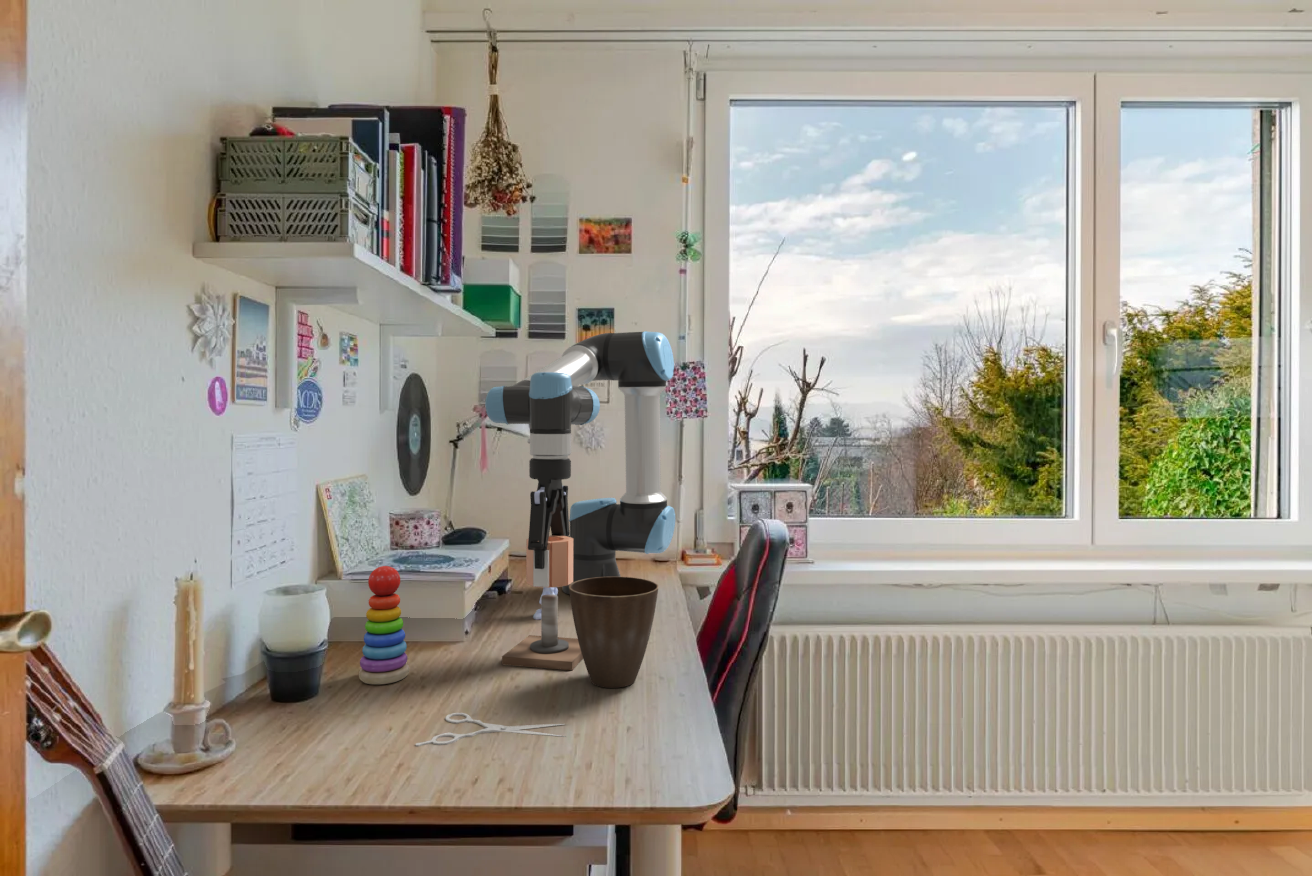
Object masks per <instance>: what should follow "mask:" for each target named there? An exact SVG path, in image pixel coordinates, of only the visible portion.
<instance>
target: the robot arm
mask: <svg viewBox="0 0 1312 876" xmlns="http://www.w3.org/2000/svg"><path fill="white" fill-rule="evenodd" d="M674 370H675V359H674V354H673V350H672V347H671V344H670V342H669V339H668V337H666V336H665V334H664V333H662V332H658V331H647V330H646V331H632V332H606V333H599V334H597V335H593V336H590V337H588V338H586V339H584V340H581V341H579V342H576V343H574V344H573V345H571V346H569V347H568V348H567V349H565V351H564V352H563V353H562V355H561V357H560V358H558V359H556V360H554V361H552V362H551V363H549V364H548V365H545V366H544V367H542V368H541V369H539V370H537V371H535V372H533V373H532V374H530V375H529V376H527V377H525V378H524V379H522V380H521V381H519V382H517V383H515V384H513V385H509V386H506V385H501V386H494V387H492V388H490V389H489V391H488V392H487V394H486V398H485V405H484V406H485V411H486V415H487V416H488V418H489V420H490V421H491V422H493V423H494V424H495V423H496V424H505V425H507V426H508V425H529V438H527V443H528V444H529V455H530V456H532V458H530V459H529V461H528V462H529V463H528V464H529V465H528V467H529V469H528V470H529V475H528V476H529V478H530V479H532V480H537V487H536V488H537V489H536V490H535V491H530V510H529V511H530V512H529V513H530V514H529V515H530V516H529V528H528V529H529V530H528V538H529V540H528V550H533V586H532V587H534V586H536V587H537V588H544V587H549V550H547V545H548V539H549V536H550V533H551V535H553V536H567V537H571V538H573V582H576V581H578V580H582V579H587V578H595V577H622V576H621V573H620V569H619V567H618V563H617V559H616V556H617V555H616V553H617V552H627V553H628V552H629V553H641V554H646V555H649V554H662V553H664V552H665V551H666V550H667V549H668V548H669V546H670V545H671V542H672V539H673V537H674V532H675V528H676V512H675V508H674V507H672V506H671V505H668V497H667V496H665V494H664V493H663V492H662V488H661V484H662V483H661V479H662V478H661V477H662V476H661V405H660V404H661V399H660V398H661V397H660V396H661V394H662V392H663V391H664V390H665V389H666V387H667V381H669V380H671V379H672V378H673V377H674ZM594 381H595V382H596V381H617V385H618V386H617V387H618V390H620V392H622V394H623V395H624V436H625V437H624V438H625V439H624V440H625V443H624V444H625V447H624V449H625V451H624V452H625V453H624V454H625V493H624V494H623V495H622V496H621V497H620V498H619V503H618V504H617V500H616V497H601V498H594V499H593V498H592V499H586V500H585V499H584V500H580V501H576V502H574V503H572V504H571V506H570V509H569V502H568V501H569V500H568V499H569V498H568V496H569V486H568V485H563V481H562V480H567V479H570V478H571V476H572V461H571V459H570V458H569V456H571V455H572V425H575V426H578V425H579V426H583V425H586V424H590V423H591V422H593V421H594V420H595V419H596V418H597V416H598V415H599V413H600V408H601V404H600V399H599V396H598V394H596V392H595V391H594V390H592V389H590V388H588V387H585V386H583V385H587V384H590V383H591V382H594ZM569 510H570V511H569ZM538 541H539V542H538ZM616 551H617V552H616ZM573 582H572V583H573ZM569 585H570V584H569ZM569 585H567V586H562V592H563V593H564V594H567V595H570V592H569ZM536 587H535V588H536Z"/></svg>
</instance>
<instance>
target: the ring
mask: <svg viewBox="0 0 1312 876" xmlns="http://www.w3.org/2000/svg"><path fill="white" fill-rule="evenodd" d="M528 540H529V537H528V538H526V547H525V548H526V552H525V553H526V554H525V555H526V556H525V557H526V559H525V561H526V562H525V563H526V564H525V565H526V568H525V569H526V576H525V577H526V578H525V579H526V581H525V583H526V584H527V585H529V586H531V587H535V588H536V586H533V550H528ZM538 542H539V541H538ZM547 550H549V587H547V588H550V587H557V588H559V587H560V588H561V587H563V586H567V585H569V584H571V583H572V582H573V538H571V537H567V536H553V535H552V534H551V535H550V534H549V539H548V545H547Z"/></svg>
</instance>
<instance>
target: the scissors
mask: <svg viewBox="0 0 1312 876" xmlns="http://www.w3.org/2000/svg"><path fill="white" fill-rule="evenodd" d="M455 716H462V717H465V718H463V719H452V718H451V717H455ZM444 719H445V721H446V722H448V723H451V724H456V725H457V724H462V723H472V724H477V725H480V726H482V727H483V729H479V730H476V731H474V732H473V731H472V732H469V733H453V732H449V731H448V732H445V733H440V734H437V735H434V736H433V737H432V738H431V739H430V740H427V741H422V742H416V743H415V747H421V746H425V745H430V744H433V745H439V746H445V745H449V744H454V743H455V742H456V743H457V741H458V740H460V739H463V738H470V737H471V738H472V737H474V736H476V735H481V734H487V733H489V734H490V733H502V732H503V733H514V734H525V735H534V736H535V735H537V736H549V737H563V738H564V737H566V738H567V736H566V735H560V734H559V735H558V734H552V733H546V732H537V731H530V730H528V729H540V728H546V727H554V726H555V727H556V726H561V725H563V726H564V723H558V724H555V723H550V724H546V723H545V724H529V725H528V724H526V725H511V726H510V725H509V726H508V725H504V724H497V723H496V724H495V723H487V722H483V721H482V720H481V719H473V718H472V717H471V715H469V714H468V713H465V712H453V713H449V714H447V715H446V716H445V718H444ZM443 737H452V738H453V739H450V740H445V741H438V740H437V739H440V738H443Z"/></svg>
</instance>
